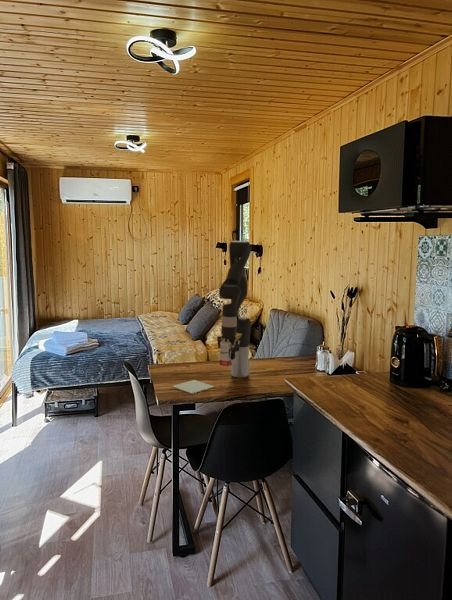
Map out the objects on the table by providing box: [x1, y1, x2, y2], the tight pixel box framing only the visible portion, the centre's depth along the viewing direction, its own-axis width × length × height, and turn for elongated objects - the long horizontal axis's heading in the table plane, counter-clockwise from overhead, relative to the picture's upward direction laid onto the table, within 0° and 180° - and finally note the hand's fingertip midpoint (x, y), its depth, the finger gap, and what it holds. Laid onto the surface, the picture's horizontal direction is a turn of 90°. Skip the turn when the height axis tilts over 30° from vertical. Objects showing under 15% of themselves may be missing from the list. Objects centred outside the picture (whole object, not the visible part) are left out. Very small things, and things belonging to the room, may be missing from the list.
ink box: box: [219, 341, 236, 367], centre depth 233 cm, size 9×5×12 cm, turn 148°
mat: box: [171, 379, 215, 395], centre depth 239 cm, size 16×15×1 cm
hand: (228, 358), depth 234 cm, fingers closed on ink box, 5 cm apart
